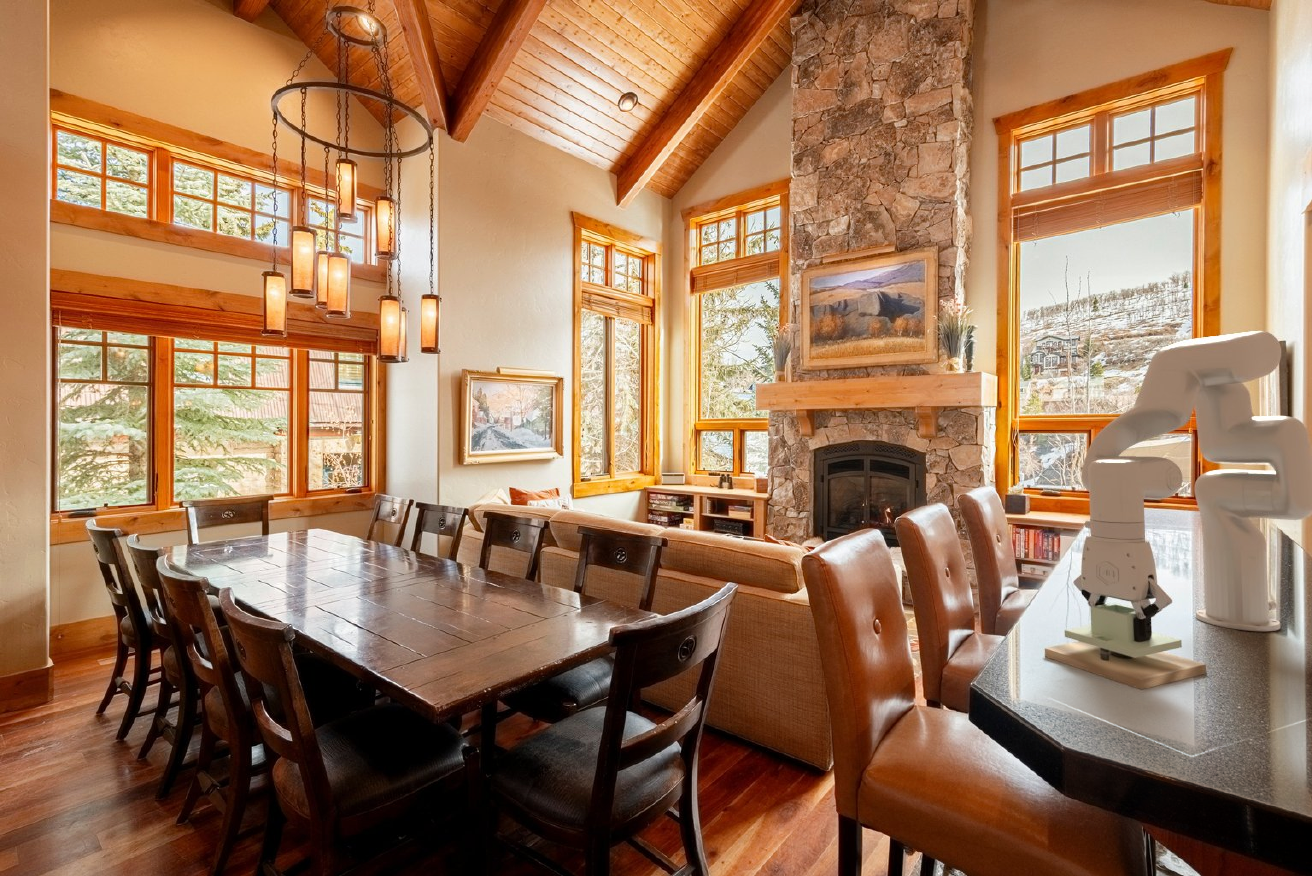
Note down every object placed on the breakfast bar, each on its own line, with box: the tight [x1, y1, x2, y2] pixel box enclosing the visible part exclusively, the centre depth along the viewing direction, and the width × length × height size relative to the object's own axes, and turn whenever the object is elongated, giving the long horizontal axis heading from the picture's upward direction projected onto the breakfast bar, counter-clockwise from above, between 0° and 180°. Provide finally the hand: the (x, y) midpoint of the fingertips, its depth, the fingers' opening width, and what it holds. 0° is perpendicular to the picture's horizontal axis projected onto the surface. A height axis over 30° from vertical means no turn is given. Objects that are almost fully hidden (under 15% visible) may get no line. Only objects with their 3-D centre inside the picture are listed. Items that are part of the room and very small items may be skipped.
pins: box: [1100, 648, 1133, 661], centre depth 104 cm, size 6×3×6 cm, turn 110°
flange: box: [1064, 602, 1183, 658], centre depth 105 cm, size 12×12×6 cm
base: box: [1044, 641, 1207, 690], centre depth 105 cm, size 16×16×2 cm
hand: (1121, 633), depth 105 cm, fingers closed on flange, 6 cm apart
